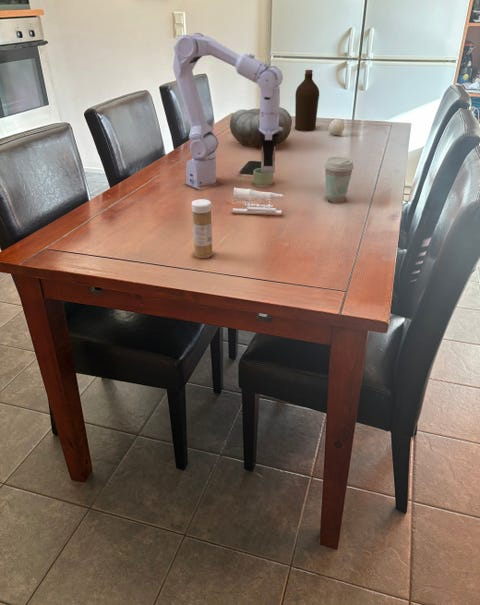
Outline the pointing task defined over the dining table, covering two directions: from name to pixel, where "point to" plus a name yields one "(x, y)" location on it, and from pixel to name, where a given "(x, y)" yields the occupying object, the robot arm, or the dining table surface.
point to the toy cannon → (256, 195)
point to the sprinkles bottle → (202, 228)
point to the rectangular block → (268, 163)
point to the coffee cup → (337, 178)
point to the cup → (262, 177)
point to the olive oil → (306, 104)
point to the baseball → (336, 127)
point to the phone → (250, 167)
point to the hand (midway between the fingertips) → (268, 158)
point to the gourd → (256, 126)
